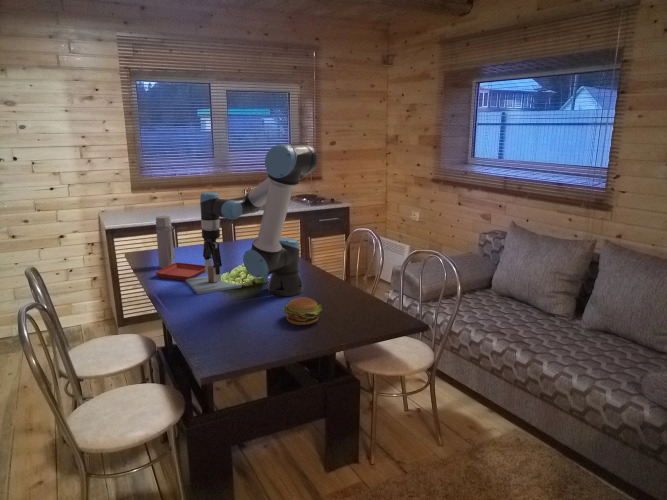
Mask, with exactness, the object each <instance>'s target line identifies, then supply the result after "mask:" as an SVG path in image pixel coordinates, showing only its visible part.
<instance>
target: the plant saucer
mask: <svg viewBox="0 0 667 500" xmlns="http://www.w3.org/2000/svg"><path fill="white" fill-rule="evenodd" d="M204 273H205V264H204V265H203V264H194V263H188V262H187V263H185V262H178V261H177V262H174V264H171V265H169V266H167V267H165V268H163V269H162V268H160V269H159V270H157V271H154V274H156V276H157V277H159V278H160V279H168V280H175V281H177V280H179V281H185V282H186V279H190V278H197V277H198V276H200V275H202V274H204Z"/></svg>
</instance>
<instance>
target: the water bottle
mask: <svg viewBox="0 0 667 500" xmlns="http://www.w3.org/2000/svg"><path fill="white" fill-rule="evenodd" d="M155 228H156V243H157V254H158V255H157V257H158V267H159V268H160V269H163V268H165V267H167V266H169V265H171V264H174V263H175V262H174V261H175V249H174V241H173V233H172V229H174V226H173V225H172V222H171V216H170V215H158V216H156V217H155Z"/></svg>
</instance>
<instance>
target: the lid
mask: <svg viewBox="0 0 667 500" xmlns="http://www.w3.org/2000/svg"><path fill="white" fill-rule="evenodd" d="M213 266H214V264H212V265H211V266H208V274H207V275H205V276H199V277H198V276H196V277H194V278H190V279H186V281H185V283H186V284H188V286H189V287H190V288H191V289H192V290H193V291H194V292H195V293H196V294H197V295H203V294H208V293H209V294H210V293H216V292H221V291H227V290H228V291H229V290H234V289H235V290H236V289H241V288H242V287H243V286H242V284H241V285H239V284H238V285H237V284H229V283H225V282H223V281H218V282H214V272H213ZM223 274H224V273H220V277H221V276H222V275H223Z"/></svg>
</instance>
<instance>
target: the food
mask: <svg viewBox="0 0 667 500" xmlns="http://www.w3.org/2000/svg"><path fill="white" fill-rule="evenodd" d="M282 308H283V312H284V314H285V317H286V320H287V322H288V323H291V324H293V325H298V326H299V325H300V326H306V324H307V325H311V324H313V323H314V324H315V323H316V322H317V321H318V320H319V315H321V314H322V313H323V312H324V311H323V307H322V305H321V304H320V303H319V304H318V302H317V301H316V300H314V299H313V298H312V299H311V297H306V296H304V297H303V296H302V297H301V296H300V297H296V298H293V299H291V300H290V301H289V302H288V303H287V304H286V305H285V306H284V307H282Z"/></svg>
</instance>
